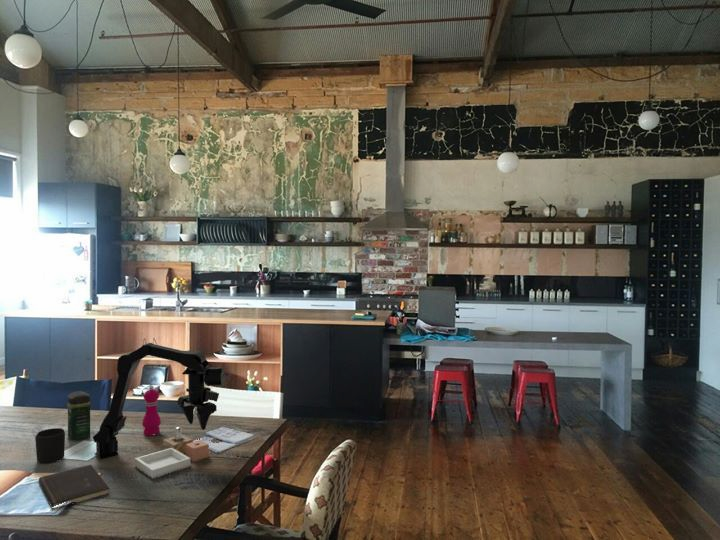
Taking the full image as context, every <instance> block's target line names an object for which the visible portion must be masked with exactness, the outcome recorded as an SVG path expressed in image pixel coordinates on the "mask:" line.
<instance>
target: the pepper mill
mask: <svg viewBox="0 0 720 540" xmlns="http://www.w3.org/2000/svg"><path fill="white" fill-rule="evenodd" d="M159 393H160V392H159V391H158V390H156V389H154V387H153V385H151V386H149V387H148V390H146V391H145V392H144V394H143V400H144V403H145V404H144V406H145V407H146V408H145V414H144V417H143V419H142V424H141V425H142V427H143V428H144V429H143V435H144V434H145V435H144V436H149V435H150V436H154V435H153V434H156V435H158V434H160V431H161V430H160V425H161V423H162V422H161V417H160V415H159V413H158V408H157V407H158V404H159V403H158V399H159V398H160V394H159ZM157 433H158V434H157Z"/></svg>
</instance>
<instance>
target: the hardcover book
mask: <svg viewBox="0 0 720 540" xmlns="http://www.w3.org/2000/svg"><path fill="white" fill-rule="evenodd" d="M38 483H40V484H39V485H41V486H40V488H41V487H42V488H41V489H43V490H42V492H43V491H44V492H43V493H45V494H44V496H45V495H46V496H45V497H47V498H46V500H47V499H48V500H47V501H49V502H50V504H51V506H52V507H54V506H56V505H59V504H62V503H64V502H68V501H69V502H70V501H71V502H76V503H79V502H83V501H86V500H90V499H93V497H94V498H96V497H100V495H101V496H103V494H104V495H108V494H109V490H110V489H111V488H110V486H108V484H107V483H106V482H105V480H104V479H103V477H102V476H101V475H100V474H99V473H98V471H97V470H96V469H95V467H94V466H93V465H92V464H88V465H84V466H79V467H74V468H71V469H67V470H63V471H59V472H55V473H50V474H46V475H43V476H40V477H39V478H38ZM107 493H108V494H107ZM49 502H48V503H49ZM50 504H49V505H50ZM51 506H50V507H51Z"/></svg>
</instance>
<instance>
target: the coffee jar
mask: <svg viewBox="0 0 720 540" xmlns="http://www.w3.org/2000/svg"><path fill="white" fill-rule="evenodd" d="M67 437H68V439H69V440H70V441H83V440H86V439H88V438H89V439H90V437H91V395H90V394H89V393H88V392H86V391H83V390H79V391H71V393H70V394H68V395H67Z"/></svg>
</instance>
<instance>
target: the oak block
mask: <svg viewBox="0 0 720 540" xmlns="http://www.w3.org/2000/svg"><path fill="white" fill-rule="evenodd" d="M193 441H194V439H193V438H191V437H189V436H187V435H185V434H182V438H181V441H179V442H175V436H172V437H168V438H165V439H163V441H162V442H163V443H162V444H163V449H164V450H165V449H169V448H174V449H175V450H177V451H179V452H181V453H182V454H184V453H183V452H185V453H186V444H188V443H192V442H193ZM163 449H162V450H163Z"/></svg>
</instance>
